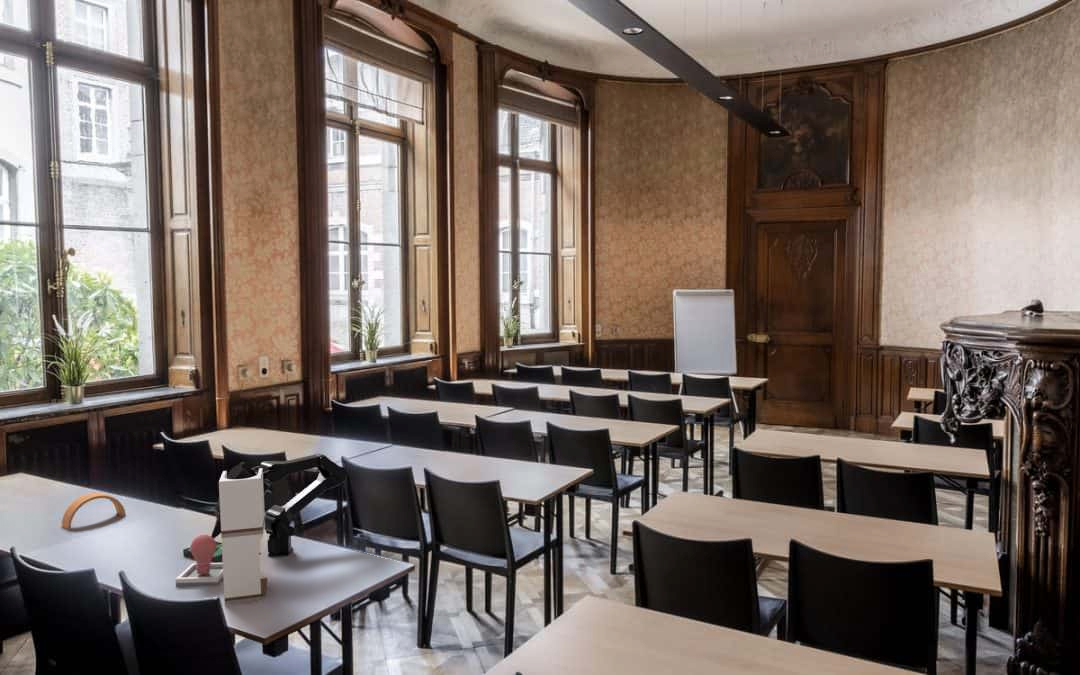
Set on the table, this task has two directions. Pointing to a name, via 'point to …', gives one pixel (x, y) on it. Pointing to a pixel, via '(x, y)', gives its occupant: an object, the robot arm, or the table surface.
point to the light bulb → (203, 552)
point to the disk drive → (216, 556)
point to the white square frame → (201, 576)
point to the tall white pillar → (242, 537)
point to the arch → (84, 499)
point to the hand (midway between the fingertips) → (219, 541)
